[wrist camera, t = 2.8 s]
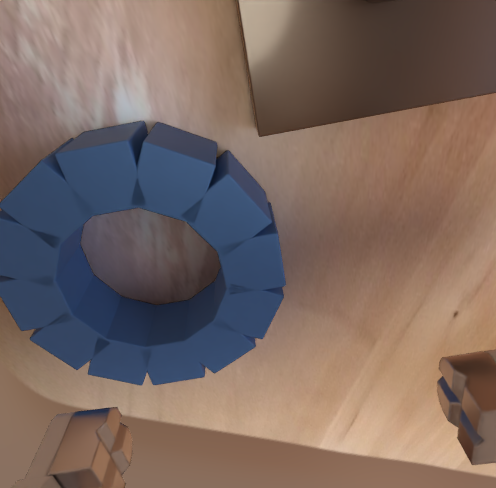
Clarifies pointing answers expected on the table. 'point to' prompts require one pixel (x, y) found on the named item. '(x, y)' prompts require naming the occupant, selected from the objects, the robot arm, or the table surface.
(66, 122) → the table surface
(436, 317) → the table surface
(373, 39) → the post
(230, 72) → the table surface
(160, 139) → the ring
